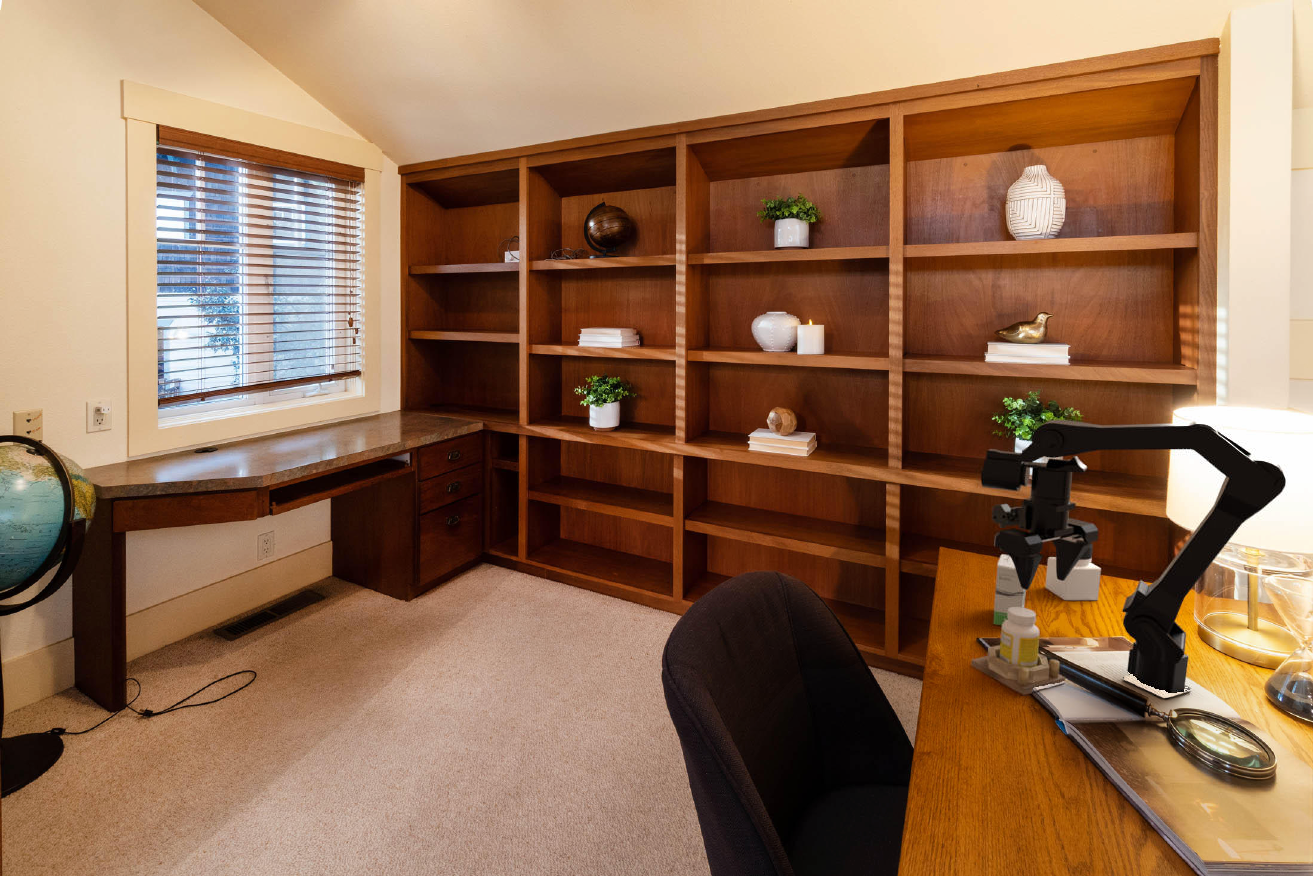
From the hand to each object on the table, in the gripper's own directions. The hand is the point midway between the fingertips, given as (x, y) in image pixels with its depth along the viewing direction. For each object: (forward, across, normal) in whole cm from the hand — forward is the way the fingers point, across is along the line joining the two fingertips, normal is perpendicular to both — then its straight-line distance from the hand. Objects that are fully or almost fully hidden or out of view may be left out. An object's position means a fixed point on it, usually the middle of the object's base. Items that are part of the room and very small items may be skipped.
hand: (1042, 584), depth 112 cm
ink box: (+13, -8, -12) cm, 20 cm away
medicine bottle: (+13, -32, -15) cm, 37 cm away
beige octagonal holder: (+13, +9, +3) cm, 16 cm away
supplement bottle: (+12, +9, +3) cm, 15 cm away
